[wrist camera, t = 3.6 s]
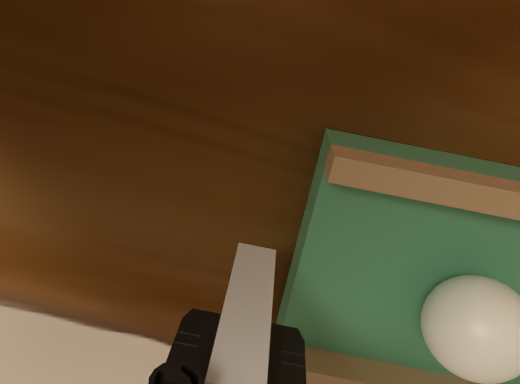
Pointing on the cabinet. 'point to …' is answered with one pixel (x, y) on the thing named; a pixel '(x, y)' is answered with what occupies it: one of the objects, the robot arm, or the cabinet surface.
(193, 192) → the cabinet surface
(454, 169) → the putting strip
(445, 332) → the ball
